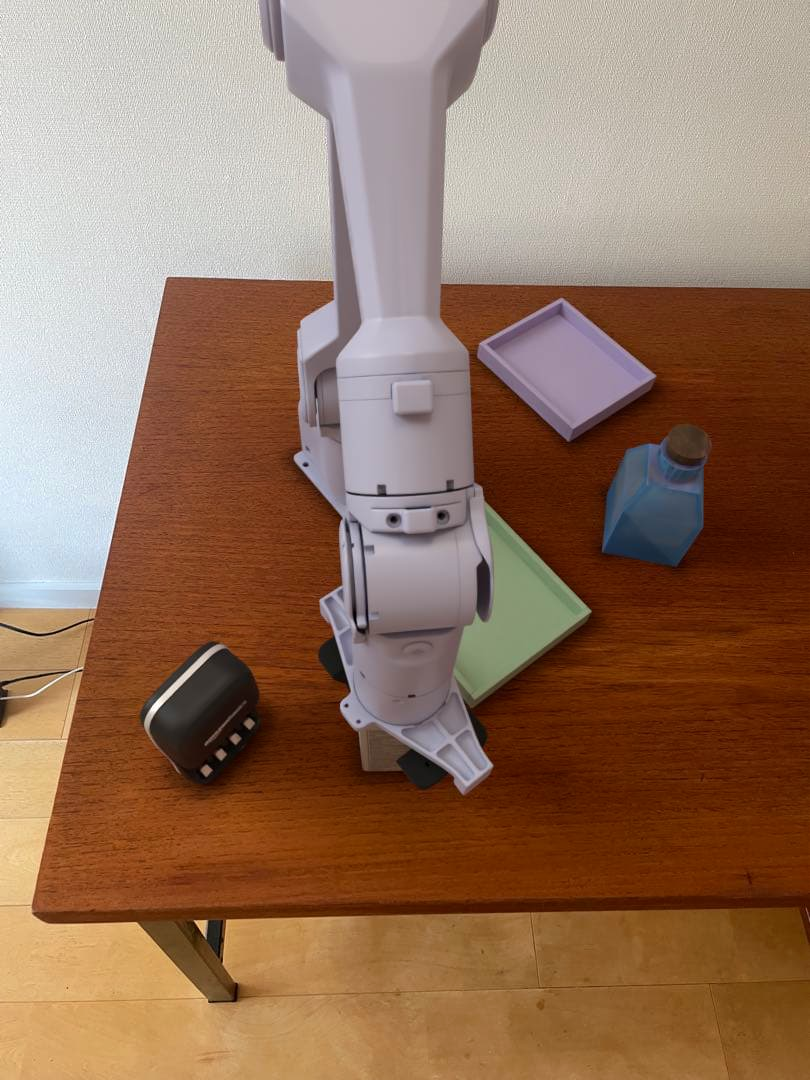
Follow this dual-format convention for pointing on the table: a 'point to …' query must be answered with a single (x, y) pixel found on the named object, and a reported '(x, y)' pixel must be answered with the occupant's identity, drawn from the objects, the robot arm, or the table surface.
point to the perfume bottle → (658, 498)
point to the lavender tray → (565, 368)
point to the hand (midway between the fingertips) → (396, 728)
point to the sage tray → (514, 616)
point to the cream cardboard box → (380, 750)
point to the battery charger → (204, 713)
